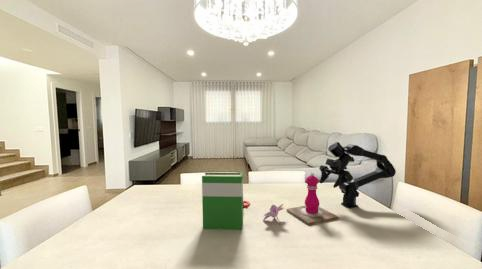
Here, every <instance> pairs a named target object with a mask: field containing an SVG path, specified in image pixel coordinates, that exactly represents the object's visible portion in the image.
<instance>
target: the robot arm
mask: <svg viewBox="0 0 482 269" xmlns="http://www.w3.org/2000/svg"><path fill="white" fill-rule="evenodd" d="M327 149H328V150H327V151H329V152H330V153H331V154H332V156H334V157H335V159H332V158H326V161H325V165H323V164H321V165H320V166H319V168H318V169H319V170H320V172H321V176H320V180H319V183H320V184H323V183H324V182H325V181H326V180H327V179H328V178H329V177H330V175H331V174H333V175H336V176H338V177H337V179H336V181H335V183H334V184H333V186H332V187H333V188H334V189H336V188H337V187H338V189H339V190H340V191H341V193H342V194H343V195H342V202H341V203H340V204H341V205H342V206H345V207H347V208H348V209H351V208H356V207H359V205H358V204H357V198H358V197H359V195H360V192H359V191H358V189H359V188H360V187H362V186H366V185H368V184H370V183H373V182H374V181H377V180H379V179H388V178H389V179H390V178H392V177H395V176H396V168H395V167H394V165H393V164H392V162H390V160H389V159H388V157H387V156H386V155H385V154H379V153H376V152H373V151H370V150H367V149H364V148H363V147H361V146H360V145H357V144H347V145H346V146H343V145H341V143H340V142H339V141H335V142H334V143H332V144H331V145H329V147H328V148H327ZM354 156H355V157H365V158H368V159H370V160H375V161H376V168H375V169H374V170H373V171H371V172H369V173H366V174H364V175H362V176H359V177H357V178H354V177H353V175H352V173H351V172H350V171H348V170H347V169H348V167H347V166H348V165H349V163H353V162H355V159H354Z"/></svg>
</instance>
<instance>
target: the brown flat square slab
mask: <svg viewBox="0 0 482 269" xmlns="http://www.w3.org/2000/svg"><path fill="white" fill-rule="evenodd" d="M306 207H307V206H306V205H302V206H296V207H290V208H286V212H287V213H288V214H290V215H292V216H293V217H295V218H296V219H298V220H299V221H301V222H302V223H304V224H306V225H307V226H312V225H316V224H321V223H322V224H323V223H326V222H330V221H335V220H339V219H340V218H339V217H340V216H338V215H336V214H334V213H332V212H331V211H329V210H327V209H326V208H325V209H324V208H323V207H320V206H319V207H318V213H317V214H310V213H307V212H306Z"/></svg>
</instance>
